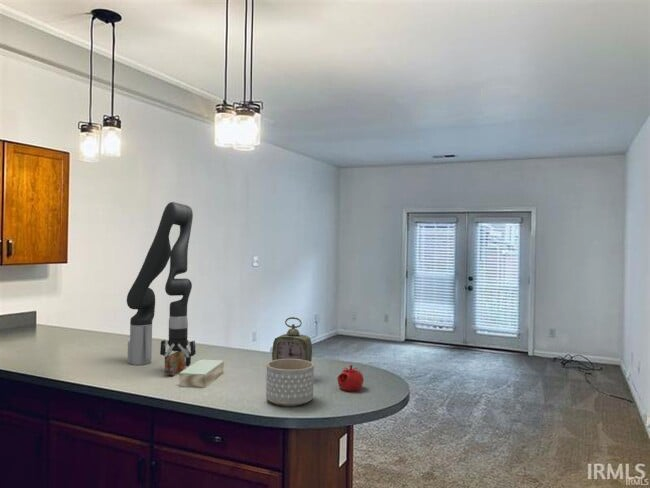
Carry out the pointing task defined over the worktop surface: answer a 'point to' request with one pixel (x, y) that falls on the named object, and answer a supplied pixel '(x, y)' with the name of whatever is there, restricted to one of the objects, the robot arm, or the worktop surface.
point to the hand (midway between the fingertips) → (177, 365)
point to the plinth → (201, 373)
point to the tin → (175, 363)
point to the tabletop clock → (292, 345)
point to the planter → (289, 381)
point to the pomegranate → (350, 379)
